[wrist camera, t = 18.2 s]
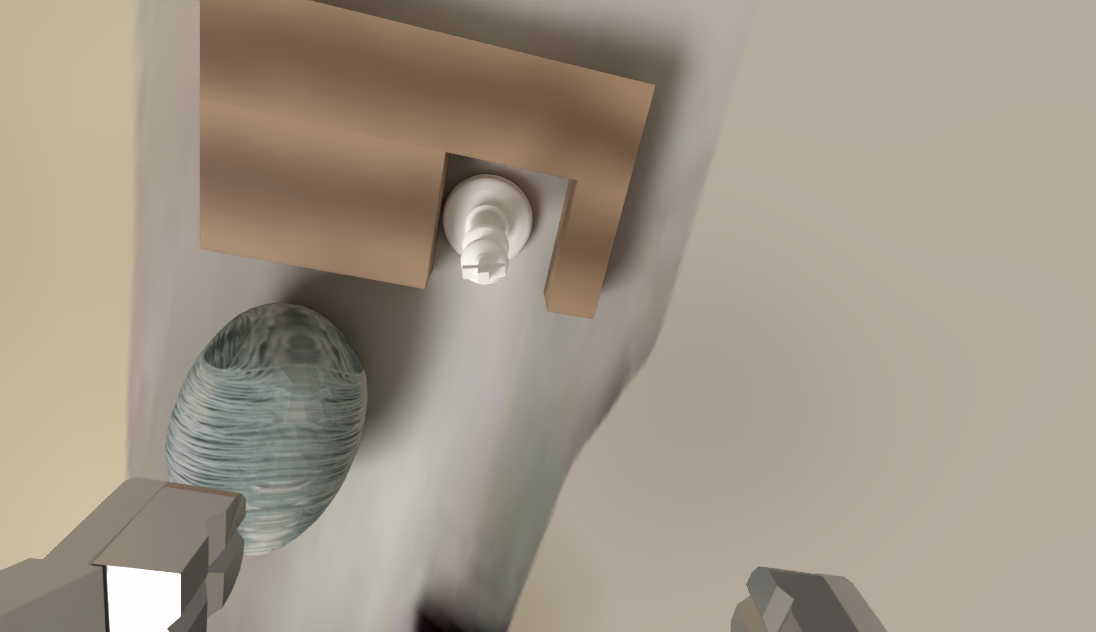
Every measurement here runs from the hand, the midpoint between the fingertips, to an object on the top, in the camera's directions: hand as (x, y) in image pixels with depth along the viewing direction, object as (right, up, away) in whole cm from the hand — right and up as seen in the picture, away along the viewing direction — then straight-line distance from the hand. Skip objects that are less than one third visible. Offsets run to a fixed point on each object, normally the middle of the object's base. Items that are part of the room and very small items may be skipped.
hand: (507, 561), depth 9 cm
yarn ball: (-15, -1, +25) cm, 29 cm away
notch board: (-6, +12, +21) cm, 25 cm away
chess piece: (-3, +9, +22) cm, 24 cm away
